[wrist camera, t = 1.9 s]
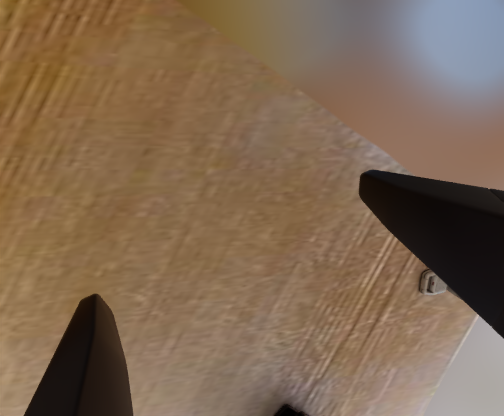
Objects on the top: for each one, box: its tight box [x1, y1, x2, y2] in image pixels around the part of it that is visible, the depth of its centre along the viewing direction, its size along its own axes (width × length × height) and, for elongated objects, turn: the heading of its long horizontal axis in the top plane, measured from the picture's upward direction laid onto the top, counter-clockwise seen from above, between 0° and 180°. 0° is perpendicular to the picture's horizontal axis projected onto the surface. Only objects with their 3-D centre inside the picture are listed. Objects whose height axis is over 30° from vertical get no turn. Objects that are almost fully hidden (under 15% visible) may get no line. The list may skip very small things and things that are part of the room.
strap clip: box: [420, 270, 462, 300], centre depth 37 cm, size 8×3×4 cm, turn 86°
